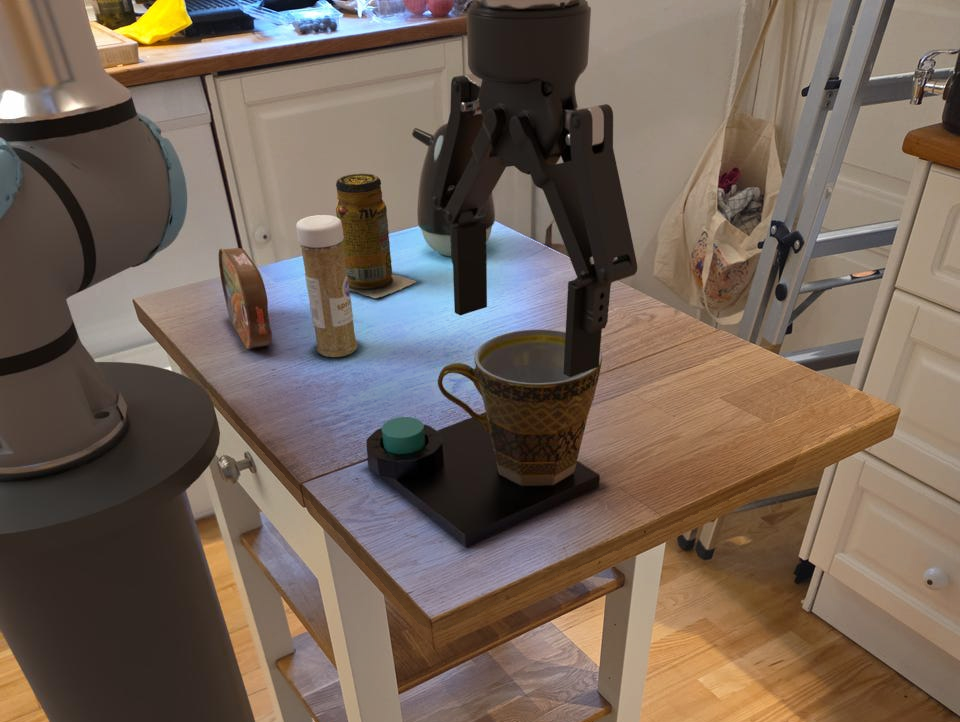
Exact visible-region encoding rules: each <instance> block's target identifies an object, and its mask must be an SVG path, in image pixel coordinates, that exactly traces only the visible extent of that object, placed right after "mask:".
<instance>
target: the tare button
mask: <svg viewBox="0 0 960 722" xmlns="http://www.w3.org/2000/svg"><path fill="white" fill-rule="evenodd" d="M424 425H425V424H424V422H422V420H420V419H419V418H415V417H412V416H400V417H394V418H391V419H389V420H387V421H385V422H384V423H383V425H382V427H381V428H382V436H383V444H384V448H385V450H386V451H387V452H391V453H396V454H409V453H414V452H416V451H419V450H421V449H423V448H424V446H425V433H424Z"/></svg>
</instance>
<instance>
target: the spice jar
mask: <svg viewBox="0 0 960 722" xmlns="http://www.w3.org/2000/svg"><path fill="white" fill-rule="evenodd" d="M295 225H296V234H297V235H296V236H297V241H298V244H299V246H300V248H301V255H302V261H303V265H304V266H303V267H304V278H305V284H306V290H307V294H308V295H307V296H308V302H309V307H310V313H311V319H312V324H313V326H314V327H313V328H314V333H315V339H316V351H317V352H318V354H320V355H321V356H323V357H324V356H325V357H327V358H341V357H345V356H347V355H351V354H352V353H354V352H356V350H357V348H358V341H357V339H356V333H355V326H354V314H353V307H352V298H351V291H350V290H349V283H348V277H347V273H346V265H345V259H344V250H343V241H342V240H343V238H344V236H343V229H342V223H341V220H340V219H339V218H337V216H335V215H330V214H318V215H311V216H306V217H303V218H301V219H299V220H298V221H297V222H296V224H295Z"/></svg>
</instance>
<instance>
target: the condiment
mask: <svg viewBox="0 0 960 722" xmlns="http://www.w3.org/2000/svg"><path fill="white" fill-rule="evenodd" d="M381 185H382V180H381V179H380V178H379V177H378V176H377V175H375V174H371V173H351V174H346V175H342V176H341V177H339V178H338V179H337V180H336V183H335V187H336V198H337V200H338V202H337V203H336V207H335V214H336V217H337V218H339V219H340V220H341V223H342V229H343V236H344V238H343V240H342V241H343V250H344V259H345V265H346V273H347V277H348V283H349V290H350V292H352V293H353V292H354V293H357V294H360V295H362V296H367V297H370V298H373V299H377V298H382V297H384V296H387V295H389V294H393V293H395V292H397V291H401V290H402V289H404V288H406V287H410V286H411V285H413V284H416V283H418V281H417V280H414V279H411V278H408V277H406V276H405V277H404V276H401V275H398V274H393V267H392V266H393V265H392V256H391V245H390V244H391V243H390V232H389V221H388V211H387V204H386V202H385V201H384V199H383V192H382V191H383V190H382V186H381Z"/></svg>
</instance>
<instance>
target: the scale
mask: <svg viewBox="0 0 960 722" xmlns="http://www.w3.org/2000/svg"><path fill="white" fill-rule="evenodd" d="M485 413H486V411H484V412H481V413H478V414H479V415H485ZM423 425H424V433H425V446H424V448H423V449H421V450H419V451H416V452H414V453H409V454H396V453H391V452H387V451H386V450H385V448H384V444H383V436H382V427H380V428H378V429H376V430H374V432H372V433H371V434H370V435H369V436H368V437H367V439H366V441H365V442H366V455H367V457H366V458H367V467H368V470H369V471H371V473H373V474H374V475H375V476H377V478H379V479H380V480H381V481H383V482H384V483H386V485H388V486H389V487H390V488H391V489H393V490H394V491H395V492H396V493H398V495H400V496H402V497H403V498H404V499H406V501H408V502H409V504H411V505H412V506H414V507H415V508H416V509H417V510H419V511H420V512H421V513H422V514H423V515H424V516H426V517H427V518H428V519H429V520H431V521H432V522H433V523H434V524H436V525H437V526H438V527H439V528H441V529H442V530H443V531H444V532H445V533H446V534H448V535H449V536H451V537H452V539H454V540H455V541H457V542H458V543H459V544H460V545H461V546H463V547H464V548H469V547H471V546H473V545H475V544H478V543H480V542H482V541H485V540H486V539H488V538H491V537H493V536H496V535H498V534H500V533H502V532H504V531H506V530H508V529H510V528H513V527H515V526H517V525H519V524H522V523H524V522H526V521H528V520H530V519H532V518H534V517H537V516H539V515H541V514H543V513H546V512H547V511H550V510H552V509H554V508H556V507H558V506H561V505H563V504H565V503H567V502H569V501H571V500H574V499H576V498H578V497H581V496H583V495H584V494H587V493H589V492H591V491H594V490H596V489H598V488H600V480H601V475H600V474H599V473H597V472H596V471H595V470H593V469H592V468H590V467H588V466H586V465H585V464H584V463H581V462H580V461H578V460H577V463H576V467H575V471H574V472H573V474H571V475H569V476H568V477H566V478H564V479H563V480H561V481H559V482H558V483H556V484H554V485H541V486H521V485H519V484H517V483H515V482H513V481H511V480H509V479H507V478H505V477H504V476H502V475H500V474H499V472H498V467H497V461H496V457H495V452H494V448H493V444H492V440H491V437H490V434H489V433H488V432H487V431H486V429H485V428H484V426H483V425H482V424H481V423H480V422H479V421H477V420H476V419H474V418H473V417H472V416H470V417H468V418H466V419H463V420H461V421H458V422H455V423H453V424H451V425H448V426H445V427H443V428H440V429H437V430H436V429H435V428H434V427H432V426H430V425H427V424H423Z"/></svg>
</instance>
